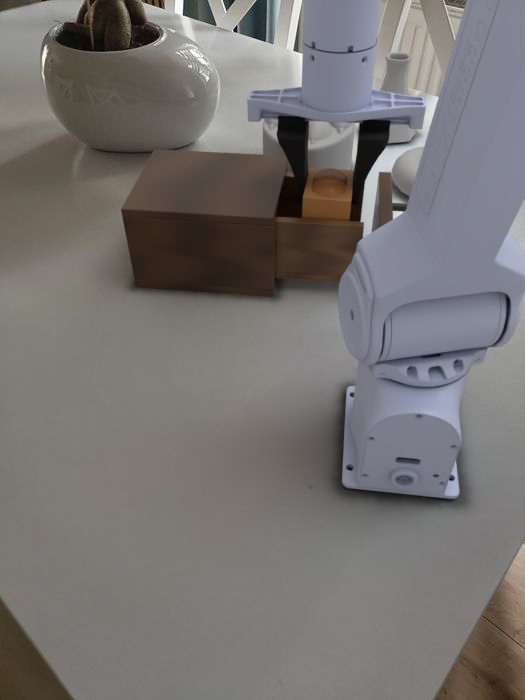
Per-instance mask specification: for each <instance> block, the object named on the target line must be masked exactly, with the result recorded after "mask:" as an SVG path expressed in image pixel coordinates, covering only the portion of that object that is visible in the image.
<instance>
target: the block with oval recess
mask: <svg viewBox="0 0 525 700" xmlns="http://www.w3.org/2000/svg"><path fill="white" fill-rule="evenodd" d="M353 172H354V169H351V170H342V169H335V168H315V167H310V169H309V173H308V177H307V182H306V186H305V190H304V195H303V205H302V218H306V219H323V220H339V221H349V219H350V211H351V201H352V191H353V189H352V186H353Z"/></svg>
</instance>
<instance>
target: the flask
mask: <svg viewBox="0 0 525 700" xmlns="http://www.w3.org/2000/svg"><path fill="white" fill-rule="evenodd" d="M412 59H413V57H412V55H411V54H410V53H408V52H404V51H390V52H387V54H386V55H385V61H386V69H385V70H386V71H385V74H384V77H383V81H382V85H381V88H380V90H379V91H384V92H389V93H395V94H400V95H407V96H410V95H409V90H408V69H409V64H410V63H411V62H412ZM389 131H390V136H389V141H388V144H394V143H395V144H396V143H405V142H406V143H407V142H411V140H412V138H413V137H414V136H415V135H416V134H417V131H416V129H410V128H409V125H391V124H390V130H389Z"/></svg>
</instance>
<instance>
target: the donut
mask: <svg viewBox="0 0 525 700" xmlns="http://www.w3.org/2000/svg"><path fill="white" fill-rule="evenodd" d="M423 149H424V146H417V147H414V148H411V149H408V150H406V151H404V152H403V153H402V154H400V155H399V156H398V157H397V158H396V159H395V162H394V163H393V166H392V168H391V174H392V182H393V183H394V185H395V187H397V189H398V190H399V191H400V192H401V193H403V194H404V195H406V196H407V197H408V198H410V194H411V191H412V187H413V184H414V180H415V177H416V174H417V170H418V167H419V163H420V160H421V156H422V153H423Z"/></svg>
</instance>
